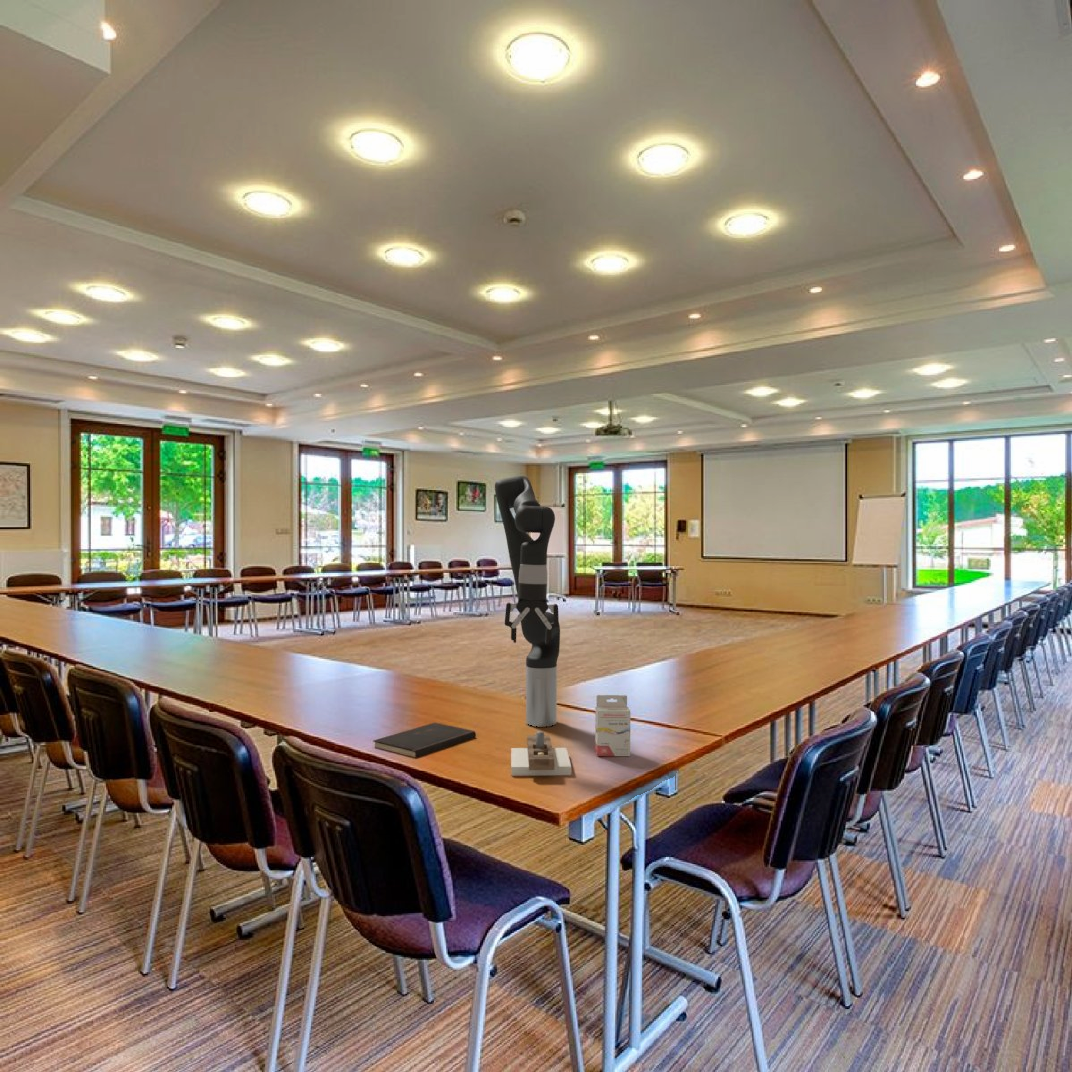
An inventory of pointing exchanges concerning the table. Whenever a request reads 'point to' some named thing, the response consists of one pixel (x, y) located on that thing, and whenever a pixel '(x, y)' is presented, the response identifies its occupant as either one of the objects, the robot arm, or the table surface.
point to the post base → (521, 754)
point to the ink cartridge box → (612, 726)
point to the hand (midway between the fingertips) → (530, 642)
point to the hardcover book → (424, 739)
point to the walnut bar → (540, 760)
